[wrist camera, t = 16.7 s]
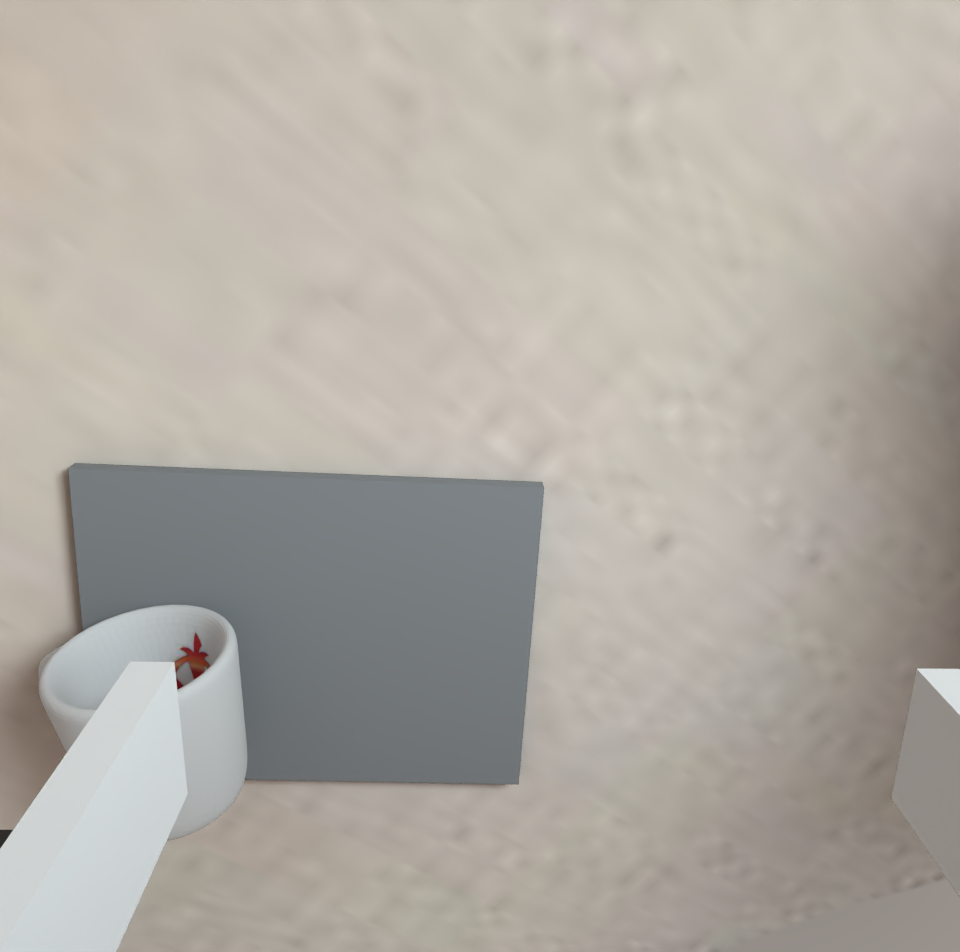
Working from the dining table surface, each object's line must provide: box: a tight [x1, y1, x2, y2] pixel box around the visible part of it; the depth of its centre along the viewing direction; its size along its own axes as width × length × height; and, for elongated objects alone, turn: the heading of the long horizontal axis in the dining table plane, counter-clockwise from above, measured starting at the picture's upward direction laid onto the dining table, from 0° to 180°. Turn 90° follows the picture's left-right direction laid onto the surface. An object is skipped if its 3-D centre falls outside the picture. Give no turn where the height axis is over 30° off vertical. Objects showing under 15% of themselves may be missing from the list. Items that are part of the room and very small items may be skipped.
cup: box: [38, 605, 247, 841], centre depth 40 cm, size 11×8×8 cm
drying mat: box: [68, 463, 544, 784], centre depth 43 cm, size 21×16×1 cm
